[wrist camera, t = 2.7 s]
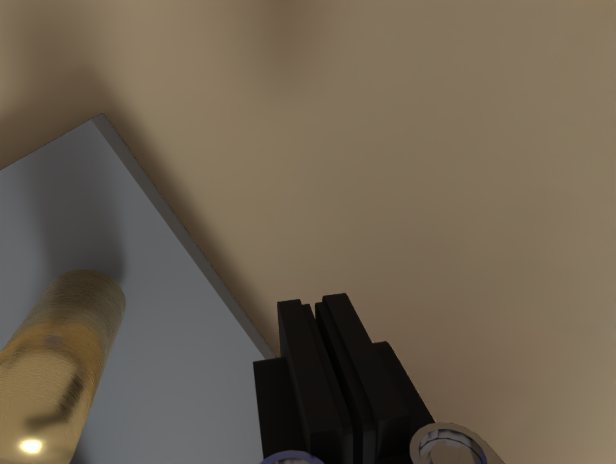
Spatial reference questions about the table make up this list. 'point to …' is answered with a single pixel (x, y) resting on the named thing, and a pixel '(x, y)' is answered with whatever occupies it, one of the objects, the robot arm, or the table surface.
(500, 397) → the table surface
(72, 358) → the lever
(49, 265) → the dial plate
